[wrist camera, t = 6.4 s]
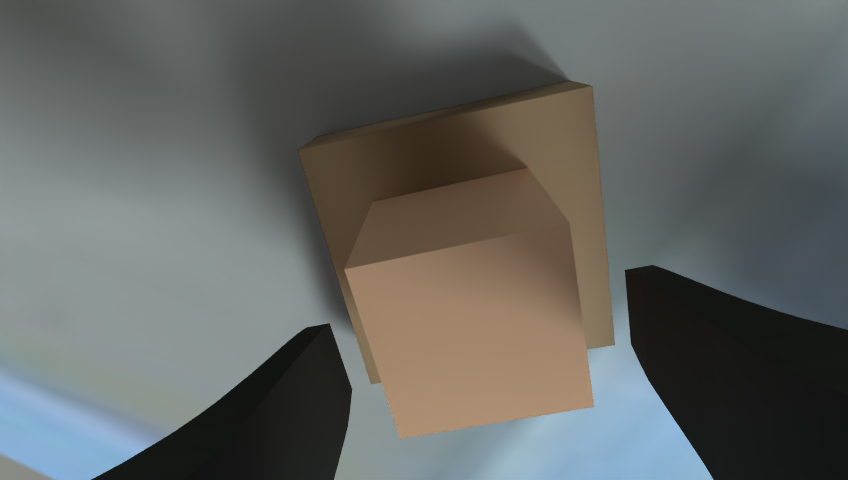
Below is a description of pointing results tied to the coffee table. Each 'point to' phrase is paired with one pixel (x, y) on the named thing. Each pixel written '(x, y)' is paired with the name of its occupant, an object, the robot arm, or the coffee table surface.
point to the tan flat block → (471, 178)
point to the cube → (471, 304)
